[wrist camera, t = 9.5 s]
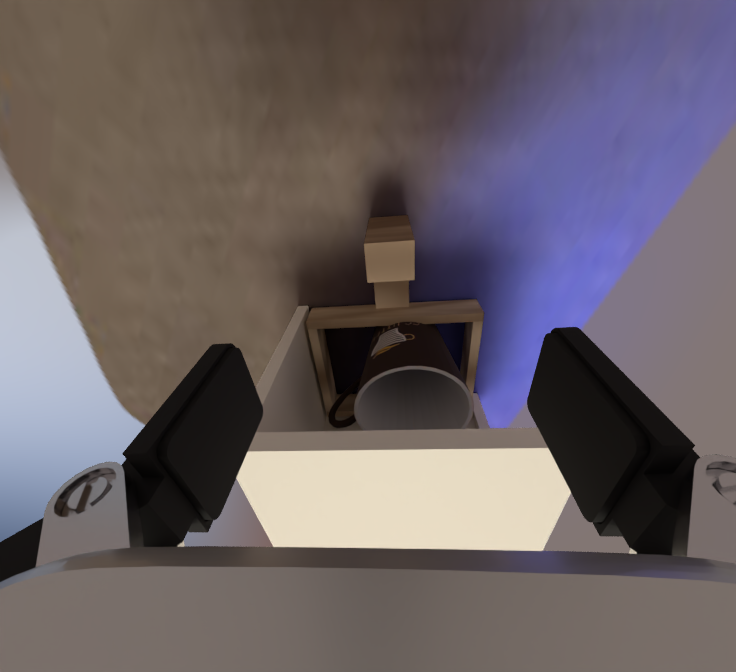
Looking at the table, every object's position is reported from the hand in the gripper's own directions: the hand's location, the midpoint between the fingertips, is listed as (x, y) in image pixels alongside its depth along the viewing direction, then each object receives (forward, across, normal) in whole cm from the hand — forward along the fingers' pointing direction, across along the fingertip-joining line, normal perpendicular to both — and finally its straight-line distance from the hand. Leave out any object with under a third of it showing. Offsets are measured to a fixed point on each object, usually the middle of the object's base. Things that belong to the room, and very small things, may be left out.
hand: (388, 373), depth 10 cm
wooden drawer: (+18, 0, +9) cm, 20 cm away
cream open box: (+18, 0, +14) cm, 23 cm away
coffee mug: (+18, 0, +11) cm, 21 cm away
